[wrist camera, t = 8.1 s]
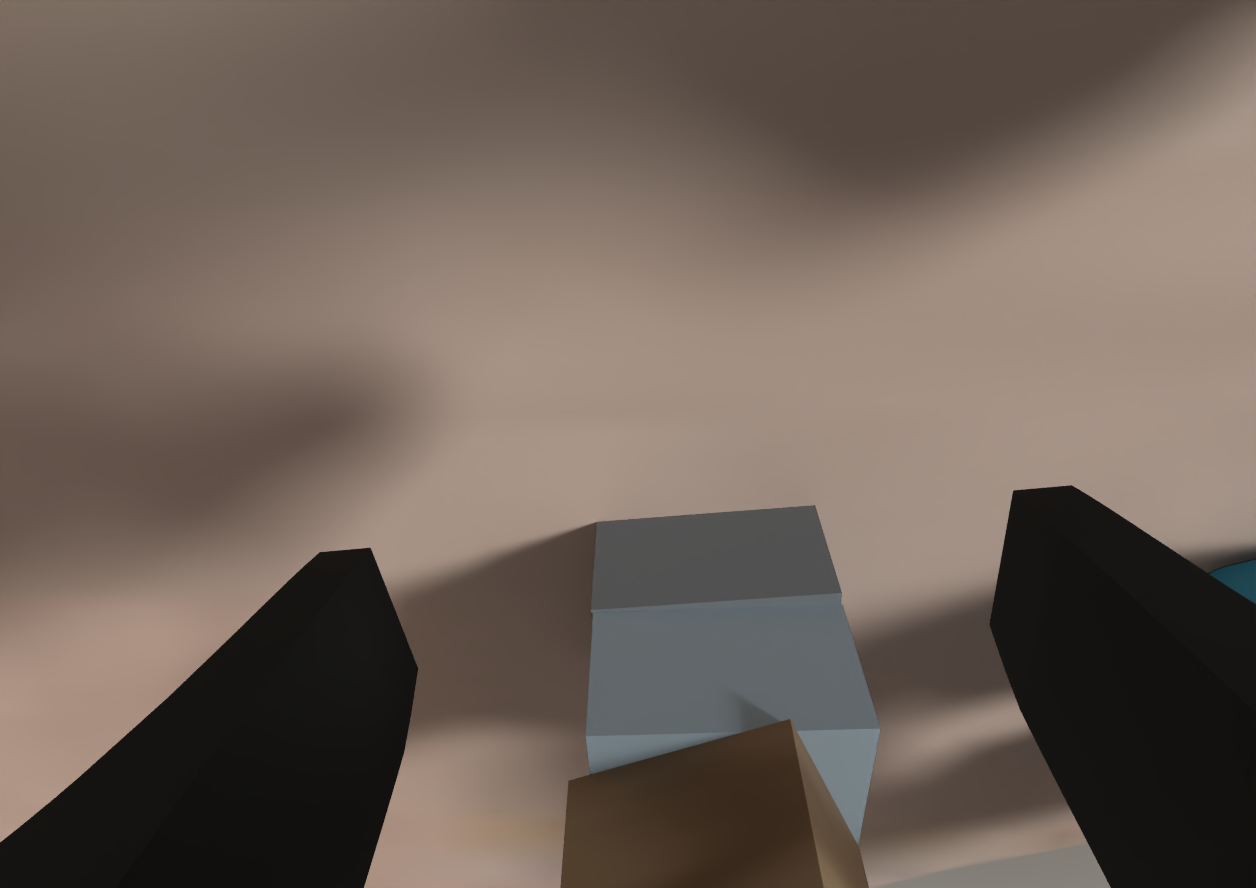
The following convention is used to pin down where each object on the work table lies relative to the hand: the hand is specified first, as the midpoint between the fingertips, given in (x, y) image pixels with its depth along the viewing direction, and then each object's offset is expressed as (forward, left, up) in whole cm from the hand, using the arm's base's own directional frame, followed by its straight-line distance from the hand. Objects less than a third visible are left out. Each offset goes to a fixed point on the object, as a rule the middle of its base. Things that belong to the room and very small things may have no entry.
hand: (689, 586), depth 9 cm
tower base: (0, +10, -10) cm, 15 cm away
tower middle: (0, +11, -7) cm, 13 cm away
